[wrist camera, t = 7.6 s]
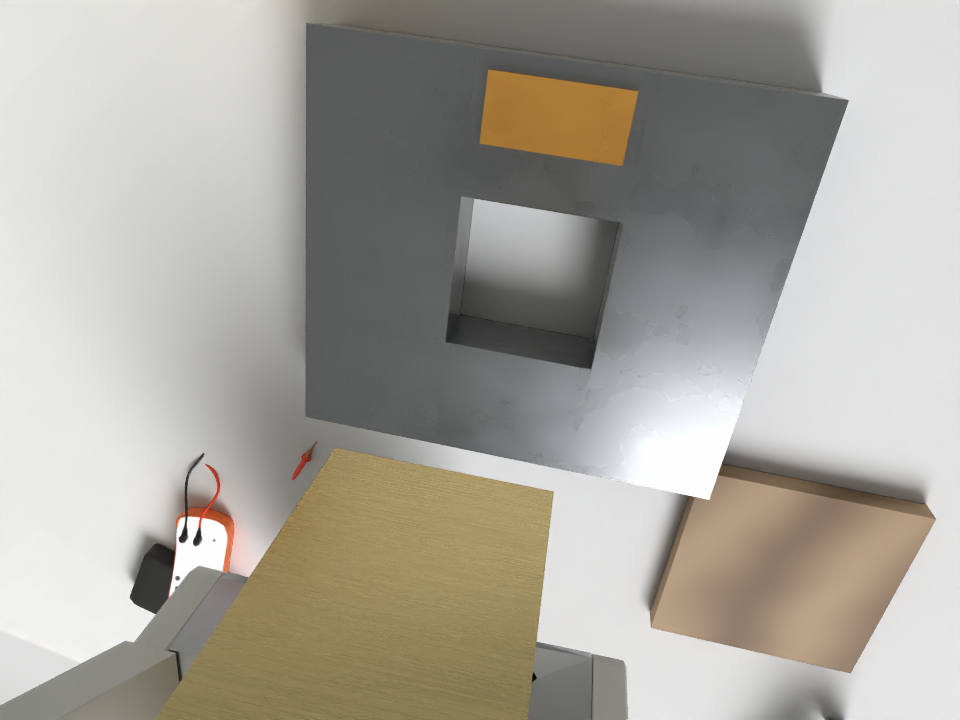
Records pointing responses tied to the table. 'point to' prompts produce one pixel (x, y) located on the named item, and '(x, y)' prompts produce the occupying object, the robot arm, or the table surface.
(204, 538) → the multimeter
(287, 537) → the brass peg
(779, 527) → the copper pad
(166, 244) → the table surface
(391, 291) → the hole plate
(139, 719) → the robot arm
